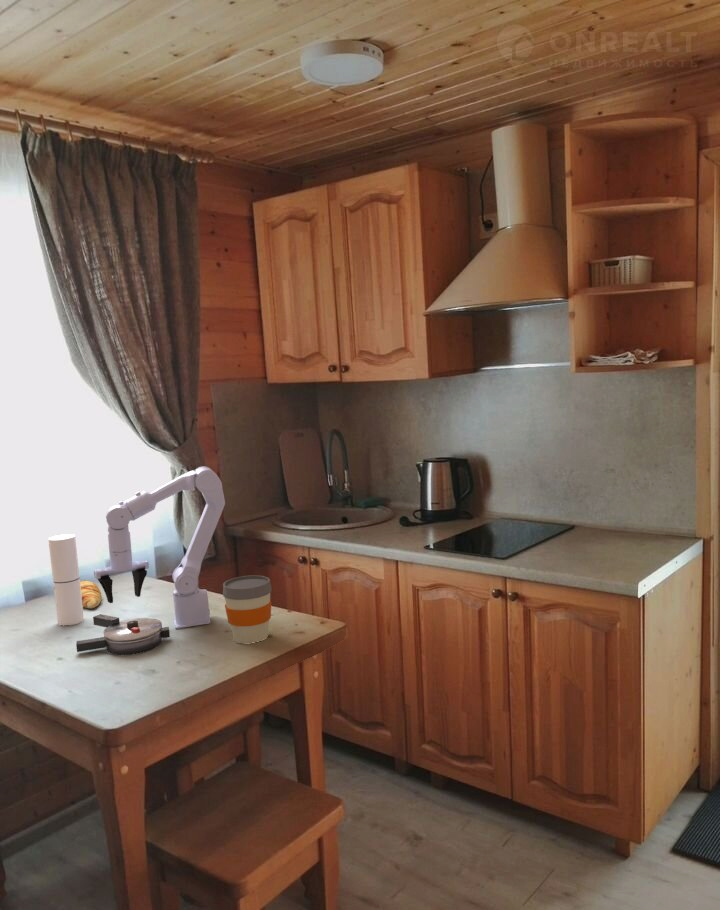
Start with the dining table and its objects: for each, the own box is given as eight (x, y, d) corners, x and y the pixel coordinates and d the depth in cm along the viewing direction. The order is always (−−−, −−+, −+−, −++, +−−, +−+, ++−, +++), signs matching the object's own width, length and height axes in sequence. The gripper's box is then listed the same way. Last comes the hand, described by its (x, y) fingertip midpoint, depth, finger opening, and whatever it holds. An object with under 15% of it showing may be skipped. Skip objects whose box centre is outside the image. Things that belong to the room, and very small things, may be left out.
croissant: (104, 619, 231) (114, 594, 232) (73, 611, 226) (83, 585, 227) (85, 602, 248) (94, 579, 250) (55, 594, 243) (65, 570, 244)
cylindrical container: (68, 627, 215) (58, 541, 212) (52, 623, 219) (42, 539, 216) (89, 619, 221) (80, 535, 218) (73, 616, 225) (64, 533, 222)
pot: (168, 630, 207) (166, 618, 207) (172, 648, 193) (170, 635, 193) (78, 644, 200) (77, 632, 200) (76, 664, 187) (74, 650, 186)
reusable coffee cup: (250, 626, 206) (245, 573, 205) (285, 633, 199) (280, 578, 197) (216, 641, 196) (211, 585, 195) (251, 650, 189) (247, 591, 187)
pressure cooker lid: (174, 625, 199) (173, 617, 199) (130, 645, 187) (129, 635, 187) (119, 615, 211) (118, 607, 210) (74, 633, 198) (73, 624, 198)
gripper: (140, 543, 212) (143, 590, 214) (88, 552, 203) (92, 601, 205) (150, 547, 207) (154, 595, 208) (97, 557, 198) (101, 607, 199)
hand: (124, 599), depth 206 cm, fingers open, 7 cm apart
